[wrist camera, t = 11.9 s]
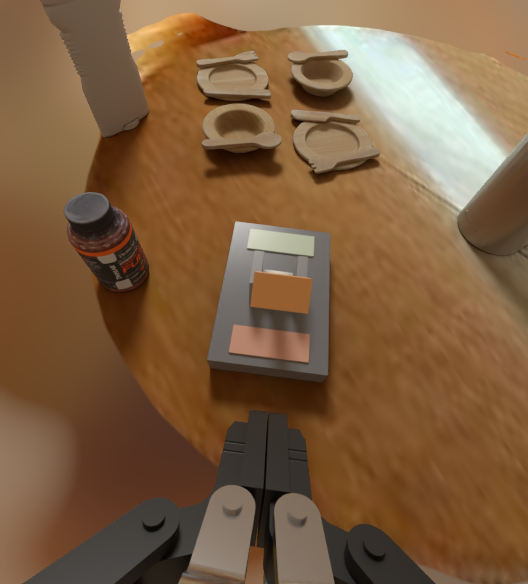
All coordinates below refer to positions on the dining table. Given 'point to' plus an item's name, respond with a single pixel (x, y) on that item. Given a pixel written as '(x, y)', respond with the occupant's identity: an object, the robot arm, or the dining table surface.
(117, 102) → the tall pale column
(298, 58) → the tableware set
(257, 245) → the switch block
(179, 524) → the robot arm
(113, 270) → the supplement bottle
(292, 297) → the breaker lever
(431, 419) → the dining table surface
